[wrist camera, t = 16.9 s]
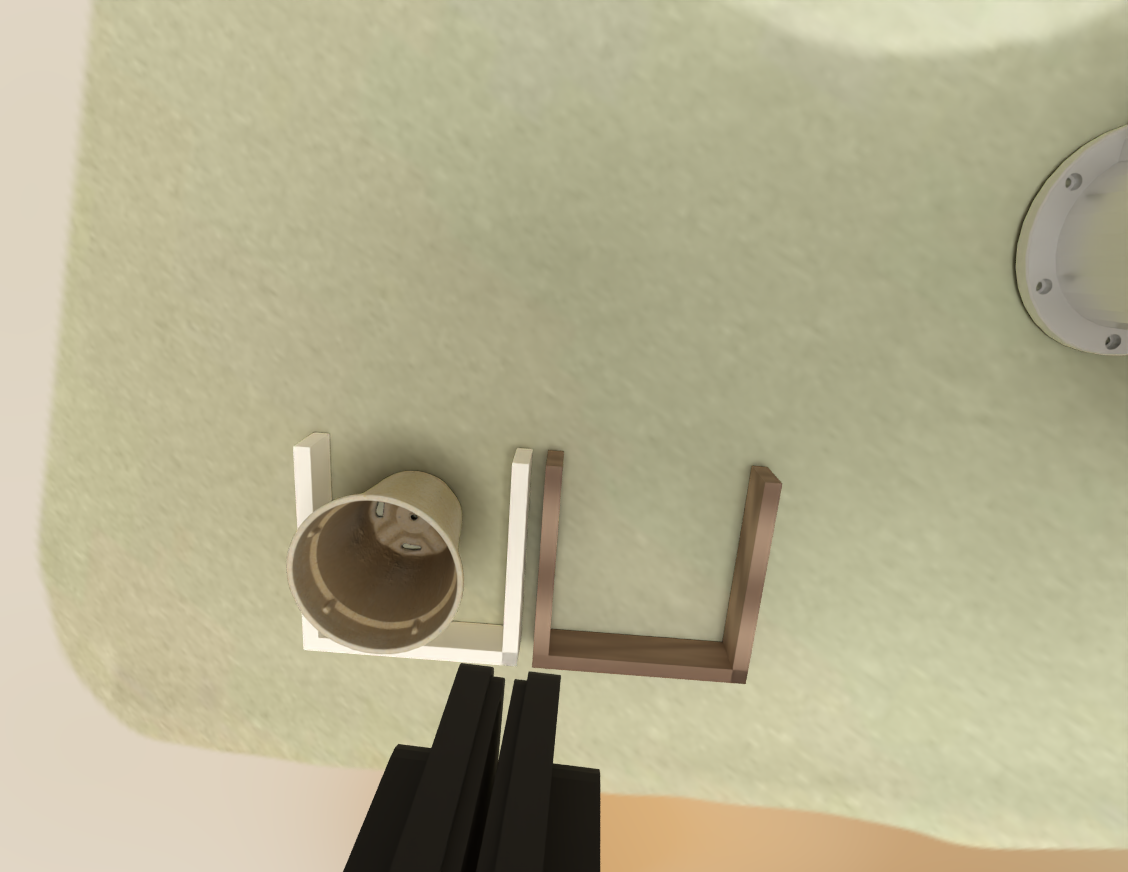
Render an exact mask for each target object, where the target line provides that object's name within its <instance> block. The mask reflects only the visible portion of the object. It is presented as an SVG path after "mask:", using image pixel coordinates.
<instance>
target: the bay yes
mask: <svg viewBox="0 0 1128 872" xmlns="http://www.w3.org/2000/svg"><path fill="white" fill-rule="evenodd" d="M532 452H533V449H525V448H517V450H516V453H515V456H514V459H513V462H512V476H511V495H510V514H509V534H508V553H507V572H506V591H505V610H504V625H494V624H481V623H468V622H455V621H451V623H450V625H449V626H448V627H447V628H446V629H445V630H444V631H443V632H442V633H441V634H440V635H439V636H438V637H436V638H435V639H434V640H432V641H431V642H429V643H427V644H426V645H424V646H421V647H419V648H416V649H413V650H411V651H408V652H402V653H397V654H373V653H365V652H360V651H357V650H352V649H350V648H348V647H345V646H343V645H340V644H338V643H336V642H334V641H332V640H331V639H329V638H328V637H326V636H325V635H323V634H322V633H321V632H319V631H318V630H317V629H316V628H314V627H313V626H312V625H311V623H309V621H308V620H307V619H306V618H305V617H304V616H303V614H302V626H303V645H304V650H312V651H325V652H338V653H351V654H364V655H377V656H390V657H403V658H416V659H429V660H442V661H455V662H468V663H481V664H494V665H506V666H517V662H518V656H519V649H520V642H521V631H522V615H523V598H524V582H525V566H526V550H527V533H528V517H529V501H530V485H531V468H532ZM293 454H294V473H295V492H296V511H297V529H298V528H299V526H300V525H301V524H302V523H303V521H304V520H305V519H306V518H307V517H308V516H309V515H310V514H312V513H313V512H314V511H315V510H317V509H318V508H320V507H321V506H322V505H324V504H326V503H328V502H330V501H332V491H331V463H330V434H329V433H316V432H314V433H312V434H311V435H309V436H308V437H306V438H305V439H303V440H302V441H300V442H299V443H297V444H296V445H294V446H293Z"/></svg>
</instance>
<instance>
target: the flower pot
mask: <svg viewBox="0 0 1128 872" xmlns="http://www.w3.org/2000/svg"><path fill="white" fill-rule="evenodd" d="M379 501H380V502H384V510H383V517H378V516H377V514H376V508H377V506H378V502H379ZM414 514H415V515H417V517H418V518H417V519H416V520H413V519H412V518H411V515H414ZM461 527H462V510H461V506H460V503H459V501H458V499H457V498H456V496H455V495H454V493H453V492H452V491H451V489H450V488H449V487H448V486H447V485H446V484H445V483H444V482H443V481H442V480H441V479H439V478H437V477H435V476H433V475H431V474H428V473H425V472H420V471H403V472H398V473H395V474H393V475H391V476H389V477H387V478H385V479H383V480H382V481H381V482H380V483H378V484H377V485H375V486H373V487H372V488H370V489H369V490H367V491H366V492H364V493H361V494H353V495H348V496H344V497H340V498H337V499H335V500H332V501H330V502H328V503H326V504H324V505H322V506H321V507H320V508H318V509H317V510H315V511H314V512H313V513H312V514H310V515H309V516H308V517H307V518H306V519H305V520H304V521H303V523H302V524H301V525H300V526H299V528H298V529H297V531H296V532H295V534H294V536H293V539H292V541H291V543H290V547H289V550H288V555H287V564H286V568H287V579H288V584H289V588H290V591H291V593H292V595H293V597H294V599H295V602H296V604H297V606H298V608H299V610H300V611H301V613H302V614H303V616H304V617H305V618H306V619H307V620H308V621H309V623H311V625H312V626H313V627H314V628H316V629H317V630H318V631H319V632H321V633H322V634H323V635H325V636H326V637H328V638H329V639H331V640H332V641H334V642H336V643H338V644H340V645H343V646H345V647H348V648H350V649H352V650H357V651H360V652H365V653H373V654H397V653H402V652H408V651H411V650H413V649H416V648H419V647H421V646H424V645H426V644H427V643H429V642H431V641H432V640H434V639H435V638H436V637H438V636H439V635H440V634H441V633H442V632H443V631H444V630H445V629H446V628H447V627H448V626H449V625H450V623H451V621H452V620H453V618H454V617H455V615H456V613H457V611H458V608H459V606H460V603H461V599H462V595H463V588H464V574H463V567H462V562H461V559H460V555H459V553H458V547H459V539H460V533H461ZM405 543H407V544H410V545H415V546H420V547H421V549H417V550H410V549H405V548H403V547H402V545H403V544H405Z"/></svg>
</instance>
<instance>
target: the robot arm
mask: <svg viewBox="0 0 1128 872" xmlns="http://www.w3.org/2000/svg"><path fill="white" fill-rule="evenodd" d="M1016 275H1017V283H1018V289H1019V292H1020V295H1021V298H1022V301H1023V304H1024V306H1025V308H1026V309H1027V311H1028V313H1029V314H1030V316H1031V318H1032V319H1033V321H1034V322H1035V323H1036V324H1037V325H1038V326H1039V327H1040V328H1041V329H1042V330H1043V331H1044V332H1045V333H1046V334H1047V335H1048V336H1050V337H1051V338H1053V339H1054V340H1056V341H1058V342H1059V343H1061V344H1063V345H1065V346H1068V347H1071V348H1074V349H1077V350H1079V351H1083V352H1089V353H1095V354H1100V355H1119V356H1124V355H1128V124H1127V125H1125V126H1122V127H1119V128H1116V129H1114V130H1111V131H1108V132H1106V133H1104V134H1102V135H1101V136H1099V137H1097V138H1095V139H1094V140H1092V141H1090V142H1088V143H1087V144H1085V145H1084V146H1082V147H1081V148H1080V149H1079V150H1077V151H1076V152H1075V153H1074V154H1072V155H1071V156H1070V157H1069V158H1067V159H1066V160H1065V161H1064V162H1063V163H1062V164H1061V165H1060V166H1059V167H1058V168H1057V170H1056V171H1055V172H1054V173H1053V174H1052V175H1051V176H1050V177H1049V178H1048V179H1047V181H1046V182H1045V184H1044V185H1043V187H1042V188H1041V190H1040V191H1039V193H1038V194H1037V196H1036V197H1035V199H1034V200H1033V202H1032V205H1031V207H1030V209H1029V211H1028V213H1027V216H1026V218H1025V220H1024V222H1023V226H1022V229H1021V233H1020V237H1019V241H1018V244H1017V255H1016ZM560 681H561V675H554V674H546V673H538V672H529V673H528V678H527V681H526V680H518V679H515V680H514V685H513V690H512V695H511V700H510V705H509V710H508V715H507V720H506V725H505V730H504V735H503V740H502V745H501V750H500V755H499V745H500V733H501V722H502V710H503V698H504V687H505V678H501V677H494V668H493V667H488V666H480V665H472V664H464V663H461V664H460V666H459V668H458V671H457V674H456V677H455V680H454V683H453V686H452V689H451V692H450V695H449V698H448V701H447V704H446V706H445V709H444V712H443V715H442V718H441V721H440V724H439V727H438V730H437V733H436V736H435V739H434V742H433V745H432V748H426V747H418V746H410V745H402V744H398V745H397V746H396V747H395V749H394V751H393V753H392V755H391V757H390V759H389V762H388V764H387V767H386V769H385V772H384V774H383V777H382V779H381V781H380V784H379V786H378V789H377V791H376V794H375V796H374V798H373V801H372V803H371V805H370V808H369V811H368V813H367V815H366V818H365V820H364V823H363V825H362V827H361V830H360V832H359V835H358V837H357V839H356V842H355V844H354V847H353V849H352V851H351V854H350V856H349V859H348V861H347V864H346V866H345V868H344V871H343V872H600V770H599V769H593V768H585V767H577V766H569V765H561V764H553V756H554V745H555V734H556V724H557V713H558V702H559V691H560ZM498 757H499V760H498Z"/></svg>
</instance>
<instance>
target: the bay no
mask: <svg viewBox="0 0 1128 872" xmlns="http://www.w3.org/2000/svg"><path fill="white" fill-rule="evenodd" d="M563 458H564V451H551V450H548V456H547V462H546V472H545V486H544V501H543V516H542V530H541V545H540V559H539V574H538V589H537V603H536V618H535V633H534V647H533V662H532V668H545V669H558V670H571V671H584V672H597V673H610V674H623V675H636V676H649V677H662V678H675V679H688V680H700V681H713V682H726V683H739V684H746V679H747V674H748V668H749V663H750V657H751V652H752V646H753V641H754V635H755V630H756V624H757V619H758V613H759V608H760V603H761V597H762V592H763V586H764V581H765V575H766V570H767V564H768V559H769V553H770V548H771V542H772V537H773V532H774V526H775V521H776V515H777V510H778V504H779V499H780V493H781V488H782V483H781V482H780V481H779V479H778V478H777V477H776V476H775V475H774V474H773V473H772V472H771V470H770V469H769V468H768V467H760V466H752V468H751V474H750V480H749V486H748V492H747V498H746V504H745V510H744V516H743V522H742V528H741V534H740V540H739V546H738V552H737V558H736V564H735V570H734V576H733V582H732V588H731V594H730V600H729V606H728V612H727V618H726V624H725V630H724V636H723V642H714V641H701V640H688V639H675V638H662V637H649V636H636V635H623V634H610V633H597V632H584V631H571V630H558V629H550V628H551V615H552V602H553V588H554V575H555V562H556V549H557V536H558V523H559V510H560V497H561V484H562V471H563Z"/></svg>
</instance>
